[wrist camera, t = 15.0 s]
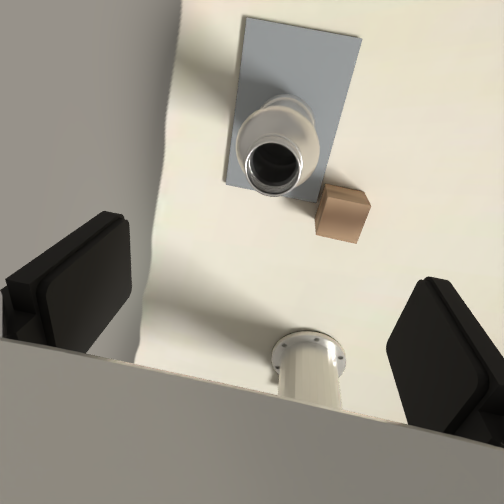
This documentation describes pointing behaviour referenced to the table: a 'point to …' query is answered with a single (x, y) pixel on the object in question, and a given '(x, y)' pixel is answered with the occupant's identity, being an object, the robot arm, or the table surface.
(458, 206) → the table surface
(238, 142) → the plastic bottle
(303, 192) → the slate mat
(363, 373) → the table surface
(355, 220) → the walnut block
